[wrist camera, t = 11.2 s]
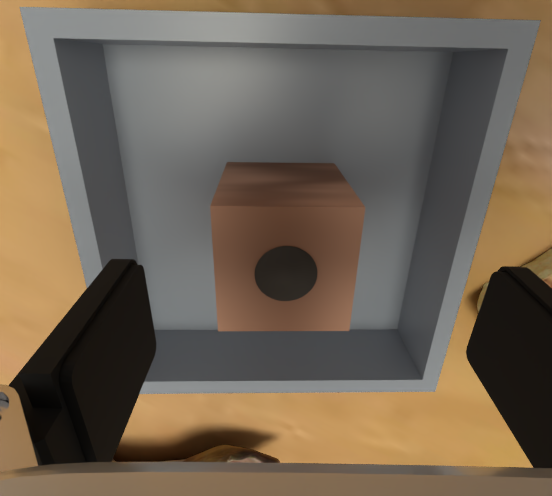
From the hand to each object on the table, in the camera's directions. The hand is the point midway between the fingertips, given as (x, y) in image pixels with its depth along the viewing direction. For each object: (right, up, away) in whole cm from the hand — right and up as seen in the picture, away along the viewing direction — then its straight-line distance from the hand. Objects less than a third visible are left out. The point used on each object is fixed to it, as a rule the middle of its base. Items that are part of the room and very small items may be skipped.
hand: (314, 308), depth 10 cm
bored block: (-1, +3, +8) cm, 9 cm away
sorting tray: (-1, +4, +9) cm, 10 cm away
